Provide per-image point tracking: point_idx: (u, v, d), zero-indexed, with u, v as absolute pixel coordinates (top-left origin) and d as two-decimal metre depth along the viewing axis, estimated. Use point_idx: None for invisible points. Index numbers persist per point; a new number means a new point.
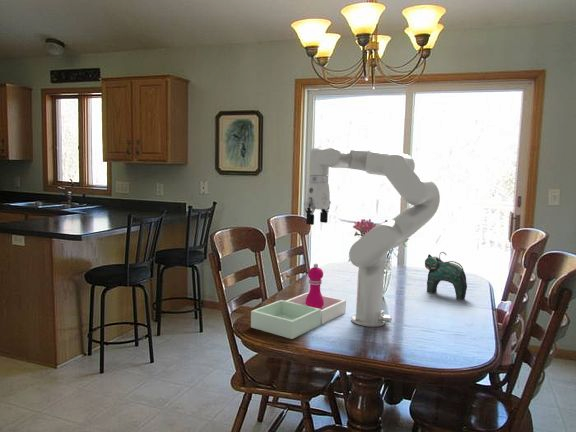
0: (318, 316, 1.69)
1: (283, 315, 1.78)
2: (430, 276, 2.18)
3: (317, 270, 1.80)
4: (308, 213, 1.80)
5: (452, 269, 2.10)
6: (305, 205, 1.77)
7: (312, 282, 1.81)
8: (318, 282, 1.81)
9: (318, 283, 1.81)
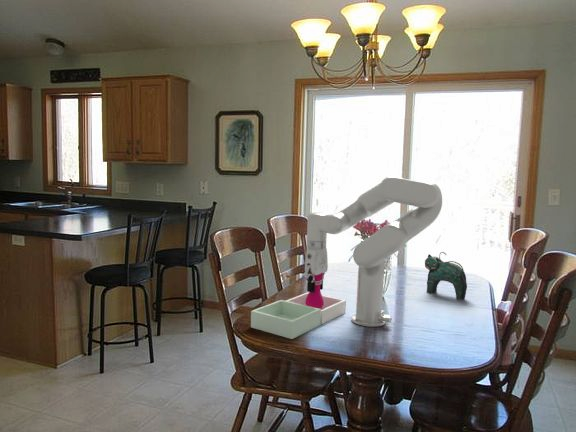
0: (318, 316, 1.69)
1: (283, 315, 1.78)
2: (430, 276, 2.18)
3: None
4: (309, 282, 1.80)
5: (452, 269, 2.10)
6: (305, 276, 1.77)
7: None
8: (318, 282, 1.81)
9: (318, 283, 1.81)
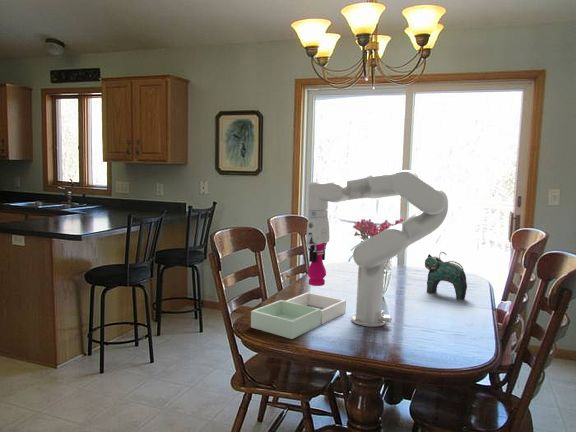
0: (318, 316, 1.69)
1: (283, 315, 1.78)
2: (430, 276, 2.18)
3: None
4: (311, 251, 1.78)
5: (452, 269, 2.10)
6: (307, 245, 1.75)
7: None
8: (320, 252, 1.79)
9: (320, 253, 1.79)
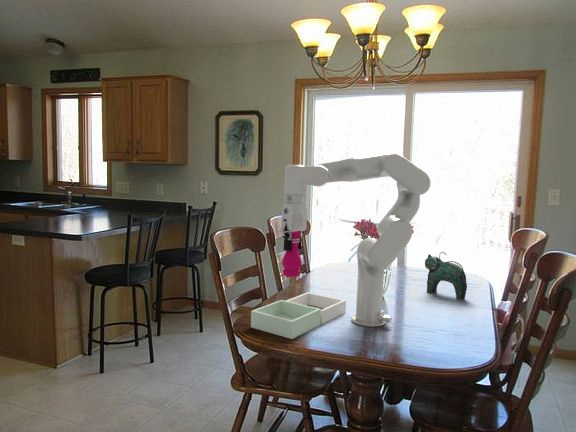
0: (318, 316, 1.69)
1: (283, 315, 1.78)
2: (430, 276, 2.18)
3: None
4: (286, 239, 1.65)
5: (452, 269, 2.10)
6: (281, 232, 1.62)
7: None
8: (295, 240, 1.66)
9: (295, 241, 1.66)
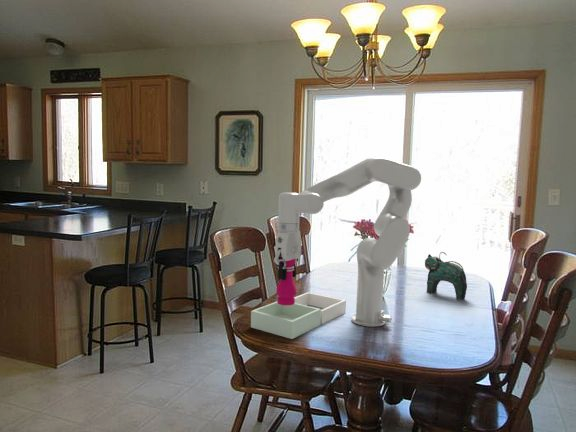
0: (318, 316, 1.69)
1: (283, 315, 1.78)
2: (430, 276, 2.18)
3: None
4: (280, 268, 1.63)
5: (452, 269, 2.10)
6: (275, 261, 1.61)
7: None
8: (290, 268, 1.65)
9: (290, 269, 1.65)
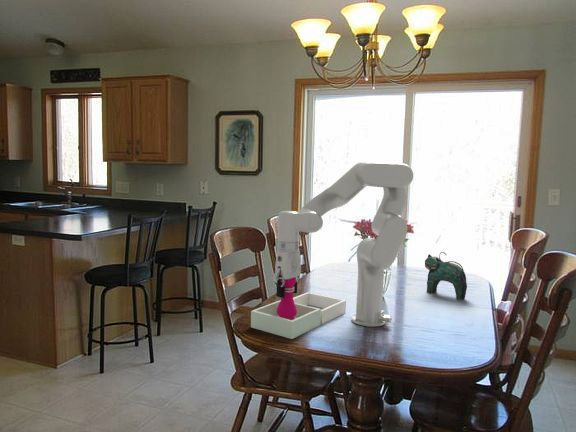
0: (318, 316, 1.69)
1: None
2: (430, 276, 2.18)
3: None
4: (278, 286, 1.63)
5: (452, 269, 2.10)
6: (274, 279, 1.61)
7: None
8: (290, 289, 1.66)
9: (290, 290, 1.66)
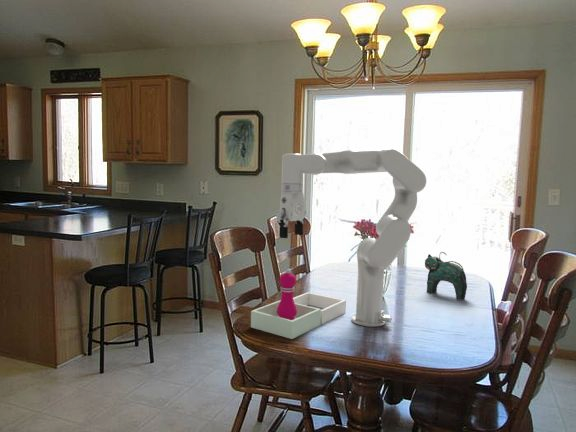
0: (318, 316, 1.69)
1: None
2: (430, 276, 2.18)
3: (289, 276, 1.65)
4: (281, 225, 1.62)
5: (452, 269, 2.10)
6: (278, 217, 1.60)
7: (284, 289, 1.66)
8: (290, 289, 1.66)
9: (290, 290, 1.66)
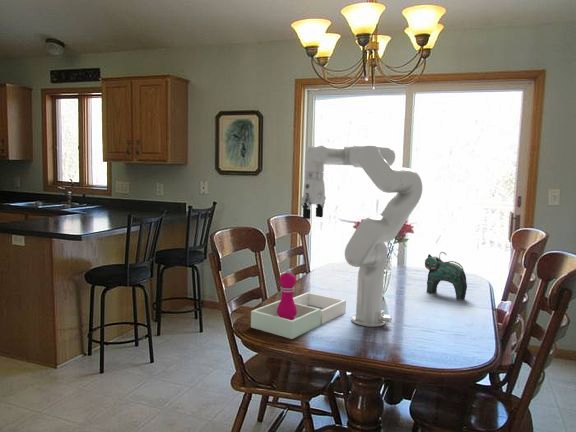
0: (318, 316, 1.69)
1: None
2: (430, 276, 2.18)
3: (289, 276, 1.65)
4: (305, 208, 1.89)
5: (452, 269, 2.10)
6: (302, 200, 1.87)
7: (284, 289, 1.66)
8: (290, 289, 1.66)
9: (290, 290, 1.66)
